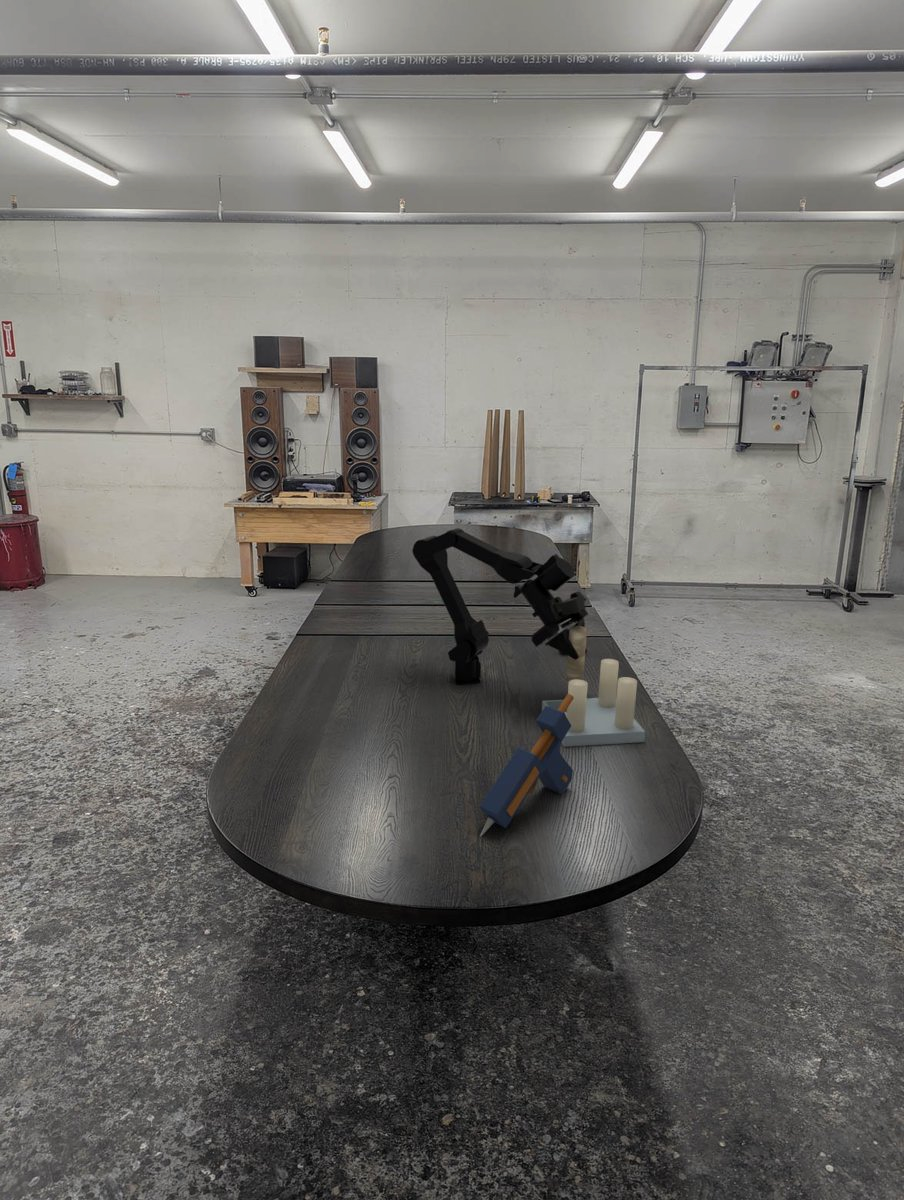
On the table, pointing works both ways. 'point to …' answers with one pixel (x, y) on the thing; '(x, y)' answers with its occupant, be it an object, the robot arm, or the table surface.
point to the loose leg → (579, 643)
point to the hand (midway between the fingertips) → (581, 656)
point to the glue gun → (531, 769)
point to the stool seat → (602, 710)
